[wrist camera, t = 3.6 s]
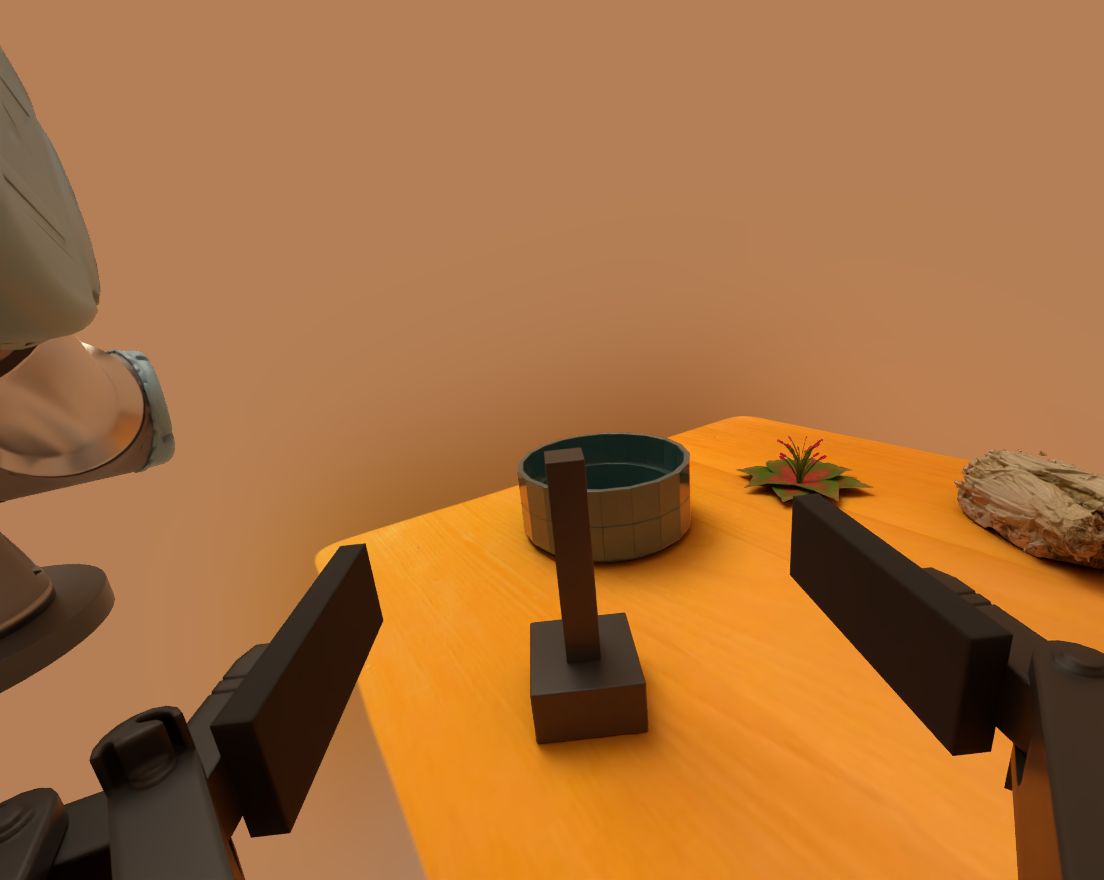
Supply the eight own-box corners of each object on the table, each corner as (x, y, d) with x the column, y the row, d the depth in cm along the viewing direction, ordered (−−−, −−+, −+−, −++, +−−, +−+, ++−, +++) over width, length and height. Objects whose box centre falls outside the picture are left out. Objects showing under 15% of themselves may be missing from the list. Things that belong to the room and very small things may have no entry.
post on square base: (536, 744, 25) (500, 483, 21) (535, 664, 31) (506, 443, 27) (648, 732, 25) (634, 469, 21) (628, 654, 31) (613, 431, 27)
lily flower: (776, 518, 45) (777, 470, 44) (715, 472, 56) (715, 432, 55) (901, 498, 46) (906, 451, 45) (817, 457, 58) (819, 417, 56)
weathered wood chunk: (1241, 586, 31) (1270, 506, 30) (1070, 594, 32) (1089, 516, 30) (1042, 491, 45) (1054, 433, 43) (926, 498, 46) (933, 441, 44)
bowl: (525, 577, 40) (515, 501, 38) (526, 499, 54) (519, 441, 52) (715, 556, 40) (715, 479, 38) (666, 484, 55) (664, 425, 53)
